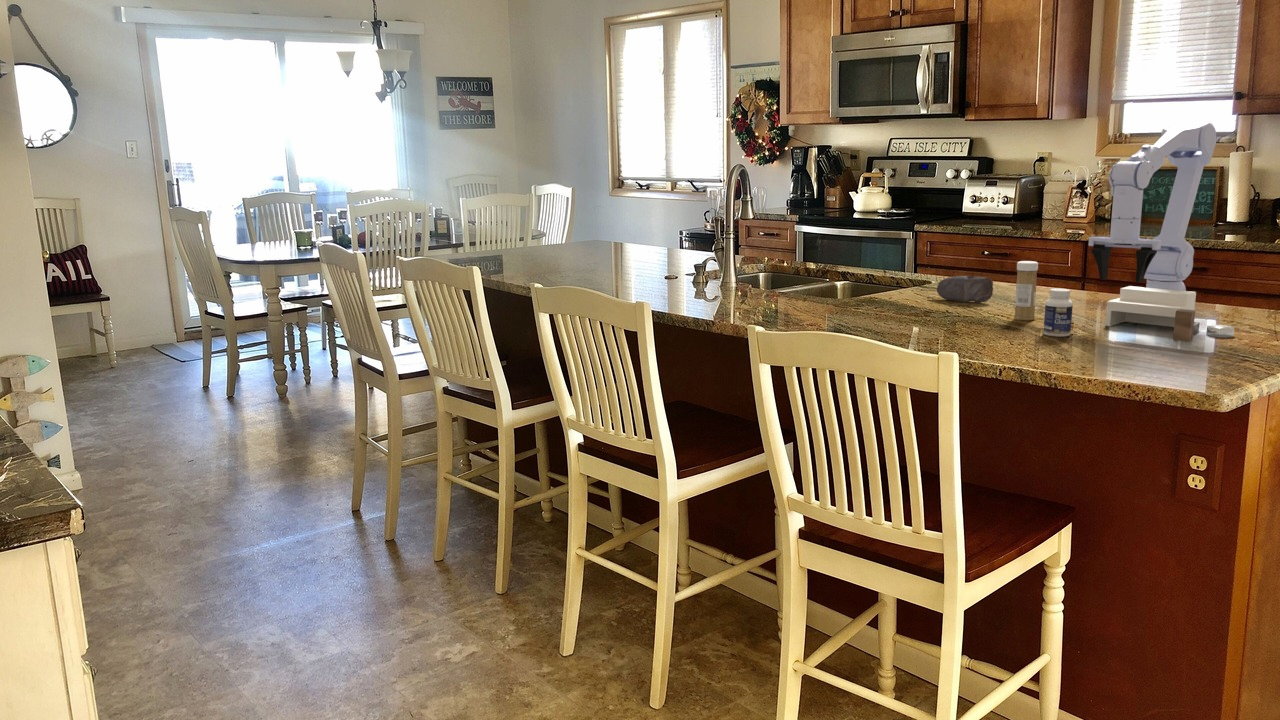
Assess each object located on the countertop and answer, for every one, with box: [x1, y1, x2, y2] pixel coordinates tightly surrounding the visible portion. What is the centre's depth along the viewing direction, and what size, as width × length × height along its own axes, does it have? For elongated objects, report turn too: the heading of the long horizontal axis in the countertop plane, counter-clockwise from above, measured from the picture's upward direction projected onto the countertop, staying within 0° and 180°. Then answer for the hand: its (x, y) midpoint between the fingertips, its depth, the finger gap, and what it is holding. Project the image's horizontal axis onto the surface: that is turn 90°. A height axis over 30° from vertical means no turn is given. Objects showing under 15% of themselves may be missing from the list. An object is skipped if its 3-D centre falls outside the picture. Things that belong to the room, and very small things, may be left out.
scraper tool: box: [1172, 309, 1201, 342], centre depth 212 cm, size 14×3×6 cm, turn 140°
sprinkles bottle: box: [1013, 260, 1039, 322], centre depth 233 cm, size 5×5×14 cm
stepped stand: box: [1105, 285, 1197, 328], centre depth 222 cm, size 9×15×8 cm, turn 42°
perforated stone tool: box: [936, 275, 994, 304], centre depth 260 cm, size 15×5×7 cm, turn 41°
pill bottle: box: [1042, 287, 1074, 338], centre depth 215 cm, size 5×5×10 cm
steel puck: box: [1205, 324, 1235, 339], centre depth 212 cm, size 5×5×2 cm
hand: (1121, 280), depth 220 cm, fingers open, 7 cm apart
